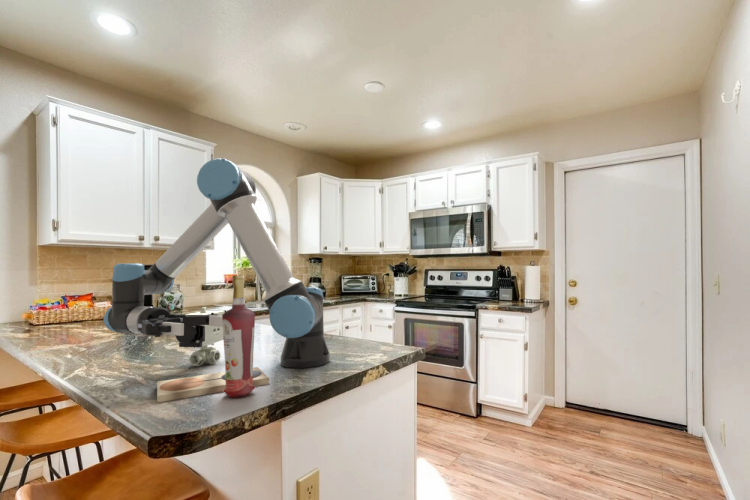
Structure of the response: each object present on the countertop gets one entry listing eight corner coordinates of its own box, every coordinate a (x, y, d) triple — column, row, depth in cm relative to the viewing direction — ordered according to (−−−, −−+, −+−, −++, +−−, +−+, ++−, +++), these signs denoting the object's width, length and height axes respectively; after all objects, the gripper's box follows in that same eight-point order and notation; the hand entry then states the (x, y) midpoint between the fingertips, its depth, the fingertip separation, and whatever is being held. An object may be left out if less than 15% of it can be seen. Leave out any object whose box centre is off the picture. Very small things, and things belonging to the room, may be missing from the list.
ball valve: (199, 371, 113) (199, 310, 114) (173, 370, 115) (173, 310, 116) (233, 357, 131) (233, 304, 132) (211, 356, 132) (210, 304, 133)
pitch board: (257, 372, 111) (257, 356, 111) (269, 383, 99) (268, 365, 99) (157, 387, 98) (157, 369, 98) (157, 402, 87) (157, 382, 87)
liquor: (262, 393, 91) (260, 274, 93) (234, 402, 86) (233, 275, 87) (244, 388, 96) (243, 275, 97) (216, 396, 90) (215, 275, 91)
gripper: (190, 328, 115) (244, 332, 106) (100, 343, 93) (159, 350, 84) (190, 303, 116) (244, 305, 107) (101, 312, 93) (159, 315, 84)
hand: (206, 325), depth 95 cm, fingers open, 13 cm apart
